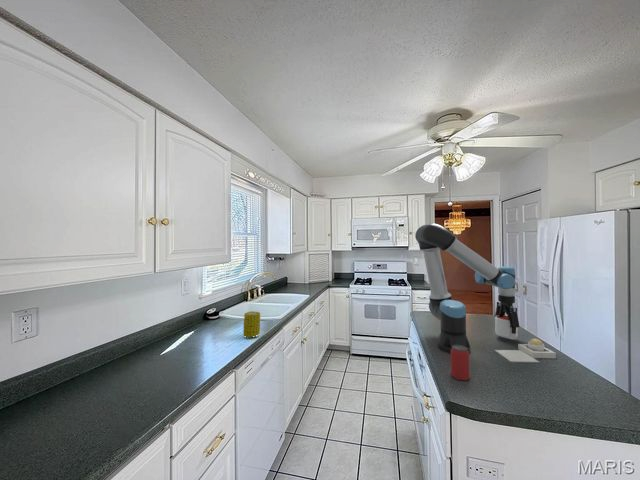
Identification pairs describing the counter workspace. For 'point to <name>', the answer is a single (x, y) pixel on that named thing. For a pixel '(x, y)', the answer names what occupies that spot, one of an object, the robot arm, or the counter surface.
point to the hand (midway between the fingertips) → (506, 335)
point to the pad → (516, 356)
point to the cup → (503, 327)
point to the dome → (535, 345)
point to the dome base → (537, 352)
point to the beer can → (460, 362)
